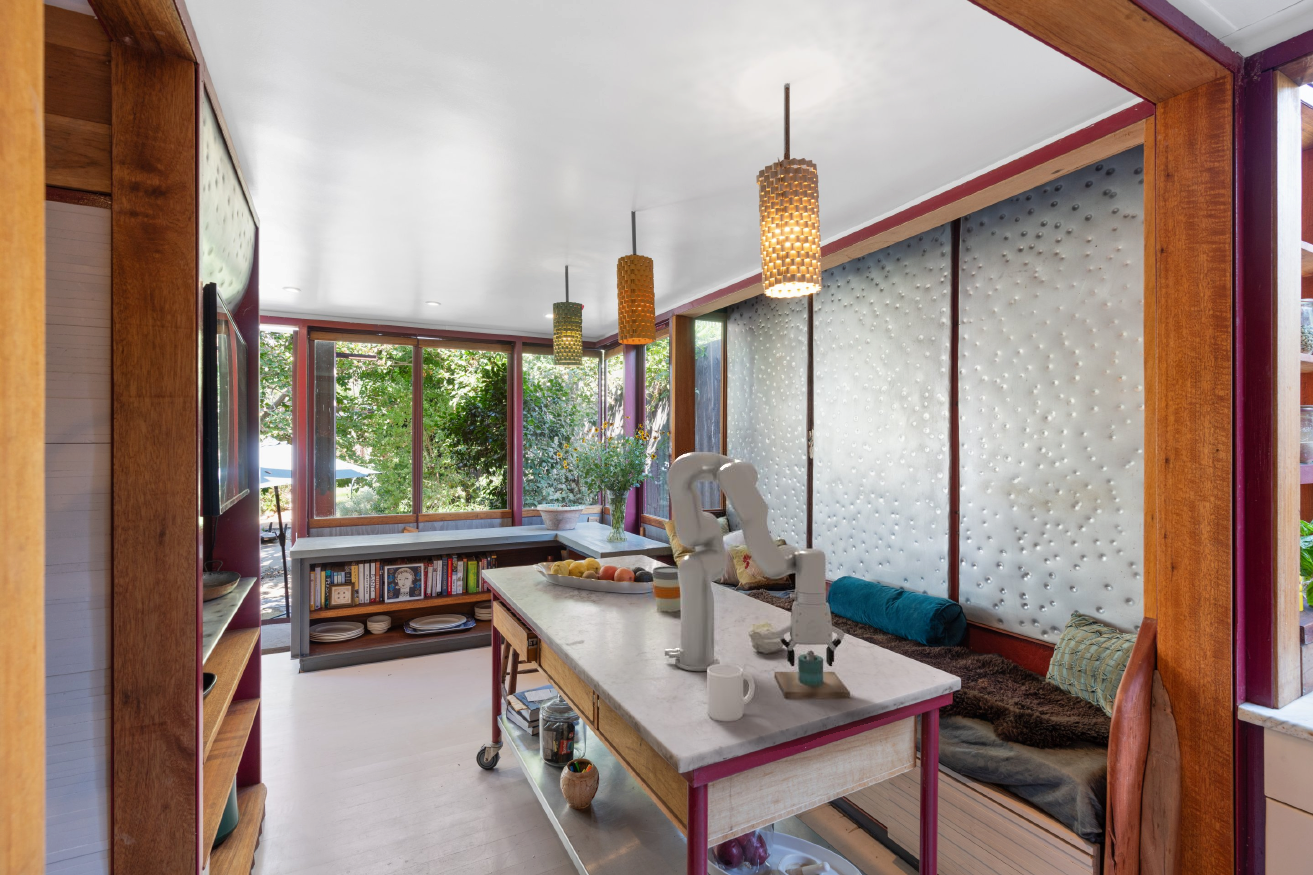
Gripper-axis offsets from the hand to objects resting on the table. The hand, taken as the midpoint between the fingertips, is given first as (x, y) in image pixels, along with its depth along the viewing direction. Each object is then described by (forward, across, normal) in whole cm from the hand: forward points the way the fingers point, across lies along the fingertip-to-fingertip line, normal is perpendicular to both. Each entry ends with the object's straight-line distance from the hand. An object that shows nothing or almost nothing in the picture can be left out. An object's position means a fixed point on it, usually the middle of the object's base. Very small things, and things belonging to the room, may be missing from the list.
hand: (810, 664), depth 163 cm
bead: (+4, 0, 0) cm, 4 cm away
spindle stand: (+6, 0, 0) cm, 6 cm away
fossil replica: (+6, -6, +29) cm, 30 cm away
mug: (+6, -22, -16) cm, 28 cm away
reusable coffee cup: (+6, -35, +78) cm, 86 cm away
